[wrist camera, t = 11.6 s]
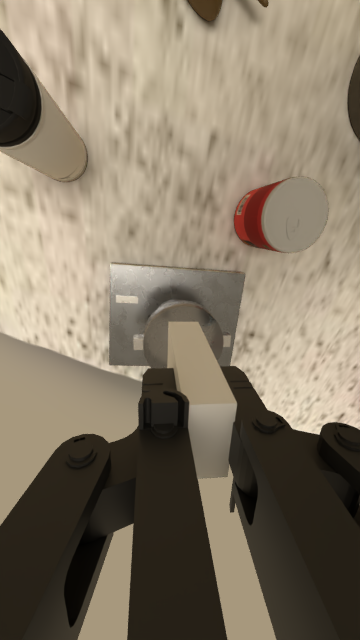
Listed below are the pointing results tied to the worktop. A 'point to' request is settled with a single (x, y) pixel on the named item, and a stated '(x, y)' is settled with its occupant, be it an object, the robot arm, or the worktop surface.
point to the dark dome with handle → (178, 311)
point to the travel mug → (35, 121)
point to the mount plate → (162, 289)
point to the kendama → (212, 7)
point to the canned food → (283, 215)
